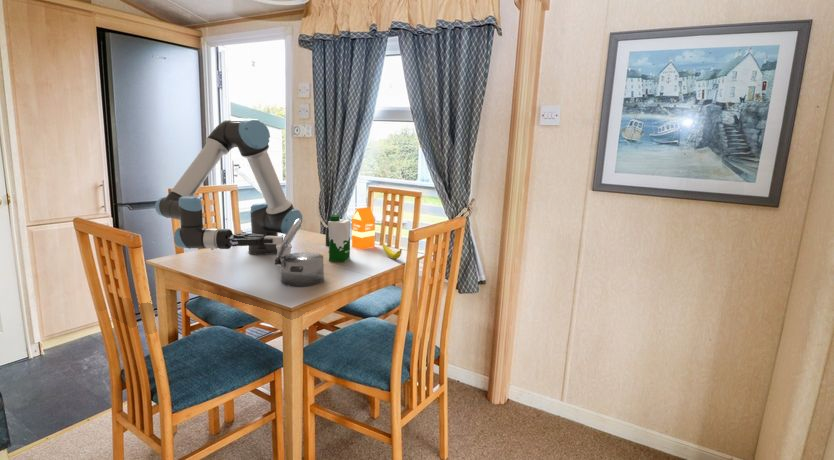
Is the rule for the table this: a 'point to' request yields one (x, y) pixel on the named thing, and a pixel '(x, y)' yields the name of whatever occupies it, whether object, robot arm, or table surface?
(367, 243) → the orange juice
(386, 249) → the banana
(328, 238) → the supplement bottle
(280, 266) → the smoothie
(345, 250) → the milk carton
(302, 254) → the cooker
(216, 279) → the table surface
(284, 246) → the lid
